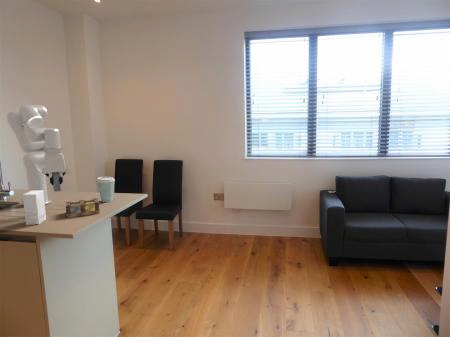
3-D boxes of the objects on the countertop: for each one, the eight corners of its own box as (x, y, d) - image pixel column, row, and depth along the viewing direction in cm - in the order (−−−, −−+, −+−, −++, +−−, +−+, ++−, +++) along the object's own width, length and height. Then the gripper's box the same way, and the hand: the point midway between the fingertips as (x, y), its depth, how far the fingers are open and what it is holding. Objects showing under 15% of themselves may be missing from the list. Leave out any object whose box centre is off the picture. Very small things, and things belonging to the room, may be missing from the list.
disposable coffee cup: (116, 198, 203) (114, 175, 201) (116, 202, 193) (114, 178, 191) (98, 200, 200) (96, 176, 197) (98, 204, 190) (96, 179, 187)
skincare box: (34, 220, 162) (30, 190, 159) (47, 219, 162) (44, 189, 160) (25, 225, 153) (21, 194, 151) (39, 224, 154) (35, 193, 152)
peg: (53, 191, 172) (51, 172, 171) (53, 190, 176) (51, 170, 174) (61, 191, 174) (59, 171, 172) (61, 189, 177) (59, 170, 175)
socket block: (66, 218, 163) (65, 206, 162) (67, 212, 173) (65, 201, 172) (99, 213, 170) (98, 202, 169) (98, 208, 180) (97, 197, 179)
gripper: (35, 153, 164) (38, 187, 167) (70, 151, 171) (73, 184, 175) (36, 151, 171) (40, 184, 174) (70, 149, 178) (73, 181, 181)
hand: (56, 184), depth 174 cm, fingers closed on peg, 3 cm apart
